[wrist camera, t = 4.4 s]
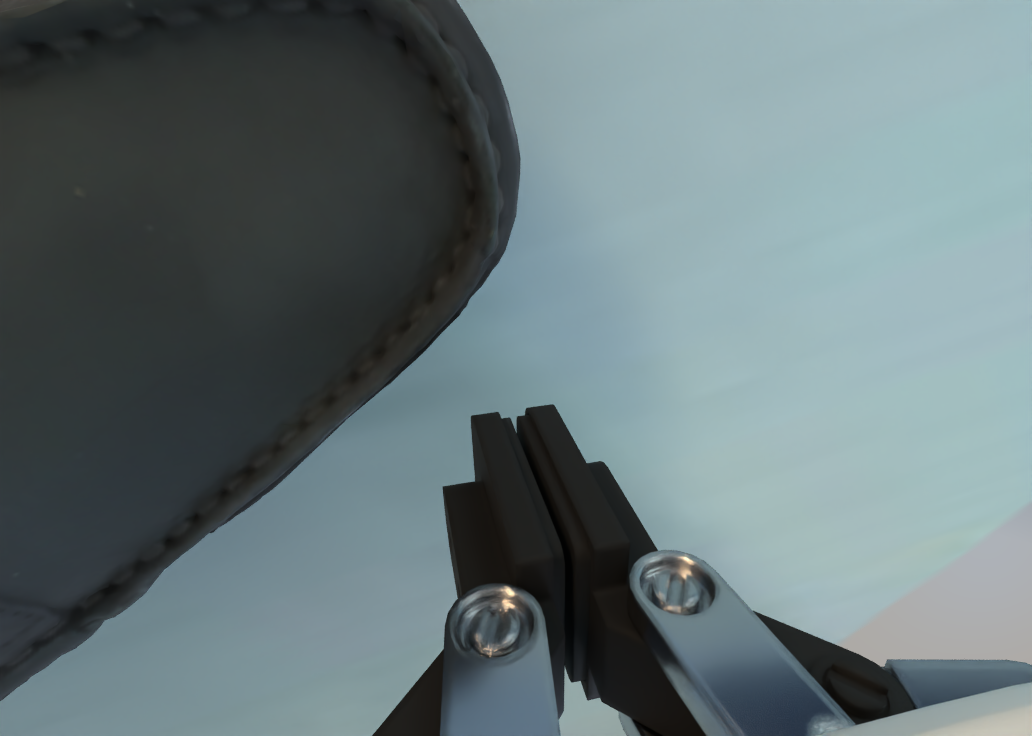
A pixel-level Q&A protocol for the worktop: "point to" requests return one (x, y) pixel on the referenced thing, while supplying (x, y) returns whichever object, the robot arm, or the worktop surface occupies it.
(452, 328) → the worktop surface
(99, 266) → the loafer
